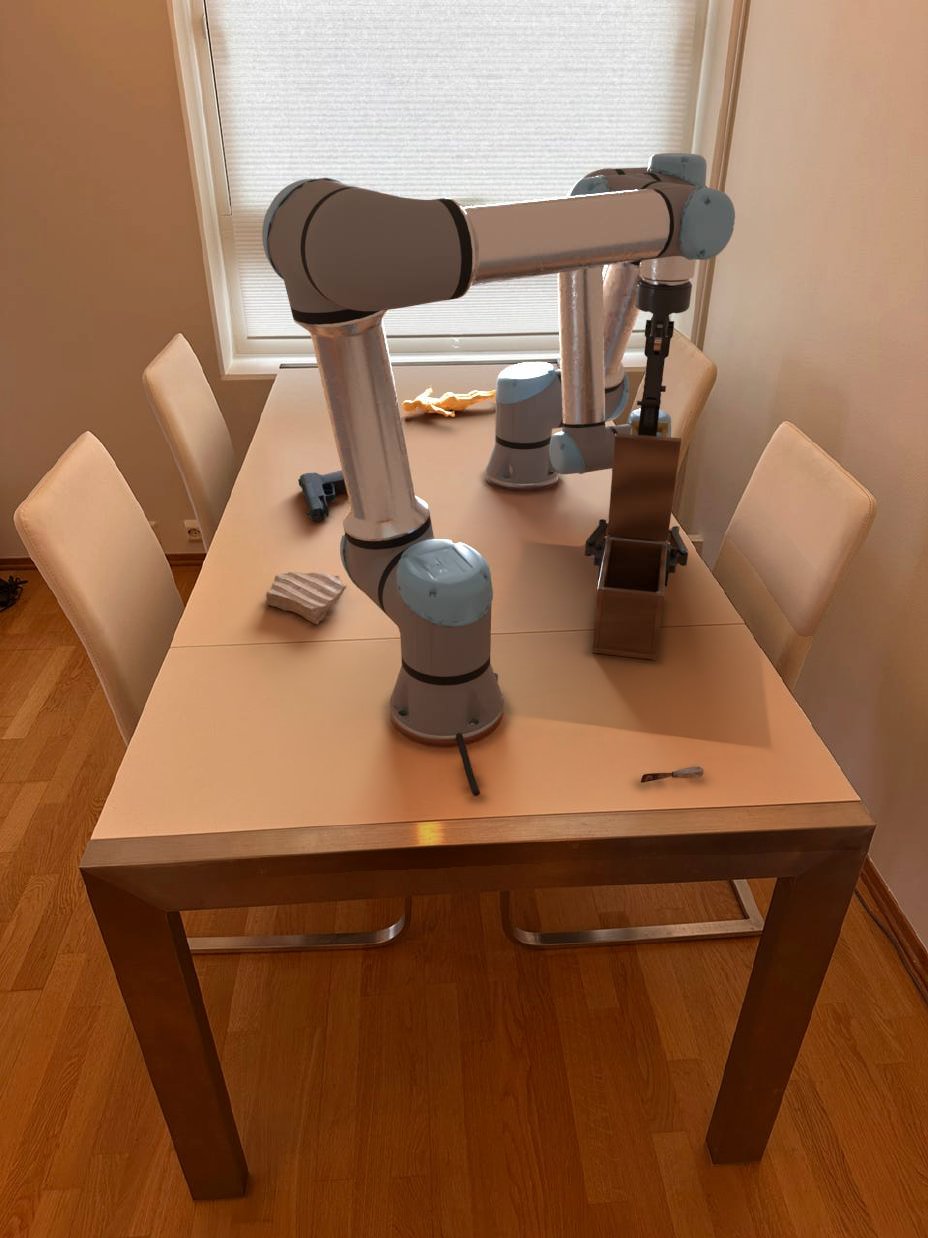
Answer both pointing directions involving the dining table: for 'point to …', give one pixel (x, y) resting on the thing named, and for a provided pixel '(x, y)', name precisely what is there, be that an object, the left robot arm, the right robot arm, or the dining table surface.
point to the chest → (630, 598)
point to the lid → (643, 484)
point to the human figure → (446, 402)
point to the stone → (305, 593)
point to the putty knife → (674, 774)
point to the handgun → (321, 491)
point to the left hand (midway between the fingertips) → (646, 440)
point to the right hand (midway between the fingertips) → (633, 575)
